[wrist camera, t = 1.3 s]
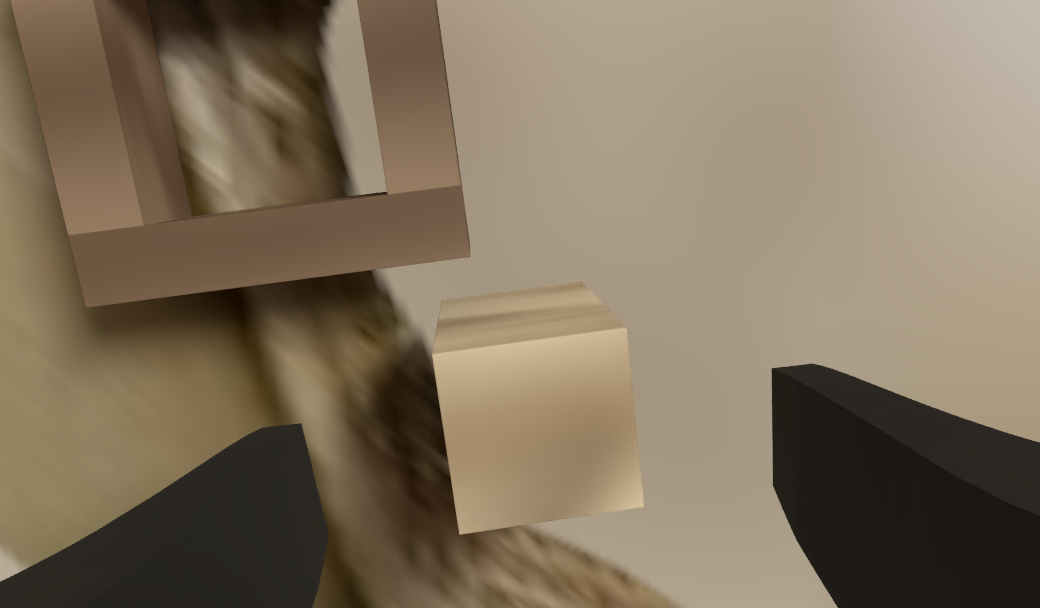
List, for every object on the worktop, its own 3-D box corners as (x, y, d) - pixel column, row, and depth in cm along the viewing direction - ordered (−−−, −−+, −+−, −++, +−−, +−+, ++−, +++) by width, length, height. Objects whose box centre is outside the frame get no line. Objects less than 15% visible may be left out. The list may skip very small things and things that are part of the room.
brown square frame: (469, 243, 20) (470, 256, 17) (142, 286, 20) (86, 307, 17) (421, -107, 19) (413, -158, 16) (60, -68, 18) (-18, -112, 15)
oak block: (595, 414, 22) (643, 506, 16) (461, 433, 21) (459, 534, 15) (581, 281, 21) (626, 327, 15) (441, 300, 21) (432, 354, 15)
